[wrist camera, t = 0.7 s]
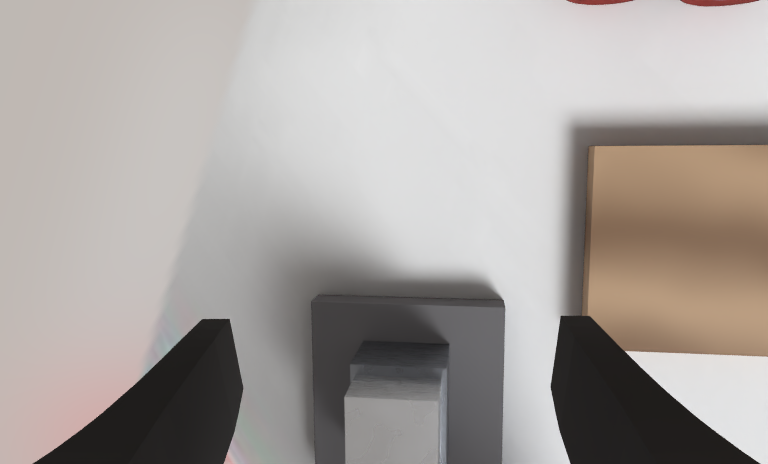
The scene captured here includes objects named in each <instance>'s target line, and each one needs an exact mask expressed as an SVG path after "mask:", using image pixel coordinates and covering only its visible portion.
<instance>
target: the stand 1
mask: <svg viewBox="0 0 768 464" xmlns="http://www.w3.org/2000/svg"><path fill="white" fill-rule="evenodd" d="M311 310H312V350H313V391H314V432H315V464H346V463H345V404H344V397H345V395H346V393H347V391H348V389H349V387H350V364H351V362H352V360H353V358H354V356H355V355H356V353H357V351H358V349H359V347H360V345H361V344H362V342H363V340H364V341H389V342H414V343H440V344H450V360H449V456H448V464H502V423H503V378H504V333H505V305H504V300H481V299H446V298H412V297H377V296H343V295H318V296H317V297H316V298H315V299H314V300H313V301H312V302H311Z"/></svg>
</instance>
